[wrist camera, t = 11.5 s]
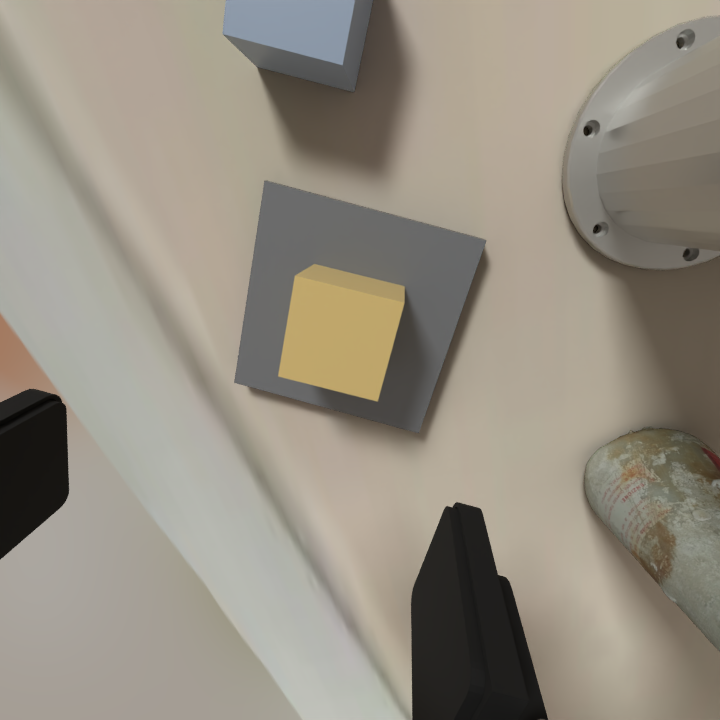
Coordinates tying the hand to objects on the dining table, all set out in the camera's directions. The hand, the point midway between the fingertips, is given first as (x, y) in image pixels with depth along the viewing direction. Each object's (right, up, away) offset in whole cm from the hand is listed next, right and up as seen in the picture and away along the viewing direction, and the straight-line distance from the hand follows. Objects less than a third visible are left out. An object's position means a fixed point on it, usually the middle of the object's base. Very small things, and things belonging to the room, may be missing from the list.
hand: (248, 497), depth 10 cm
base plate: (+2, +7, +19) cm, 20 cm away
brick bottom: (+2, +6, +18) cm, 19 cm away
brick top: (0, +23, +14) cm, 26 cm away
